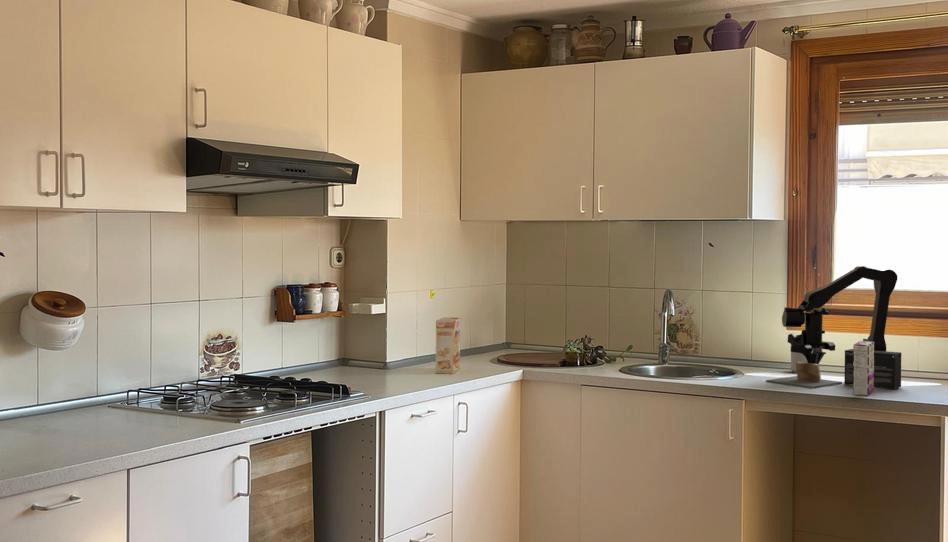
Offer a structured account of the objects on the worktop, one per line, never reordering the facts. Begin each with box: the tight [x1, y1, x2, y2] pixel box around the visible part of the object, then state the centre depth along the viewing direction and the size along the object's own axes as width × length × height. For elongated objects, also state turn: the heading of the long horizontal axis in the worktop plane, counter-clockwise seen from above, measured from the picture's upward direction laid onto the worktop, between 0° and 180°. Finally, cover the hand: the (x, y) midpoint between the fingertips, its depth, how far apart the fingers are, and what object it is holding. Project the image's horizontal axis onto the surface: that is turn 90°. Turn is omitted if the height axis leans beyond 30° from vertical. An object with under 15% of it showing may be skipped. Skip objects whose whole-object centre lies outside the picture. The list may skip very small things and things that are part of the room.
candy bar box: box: [852, 340, 875, 397], centre depth 303 cm, size 11×5×16 cm, turn 149°
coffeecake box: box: [435, 316, 462, 375], centre depth 346 cm, size 15×7×20 cm, turn 171°
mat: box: [765, 375, 843, 389], centre depth 324 cm, size 18×18×1 cm
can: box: [790, 351, 808, 374], centre depth 351 cm, size 8×8×12 cm
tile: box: [796, 362, 822, 382], centre depth 324 cm, size 8×2×6 cm, turn 38°
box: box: [843, 348, 902, 390], centre depth 317 cm, size 17×7×12 cm, turn 49°
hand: (812, 372), depth 326 cm, fingers closed
